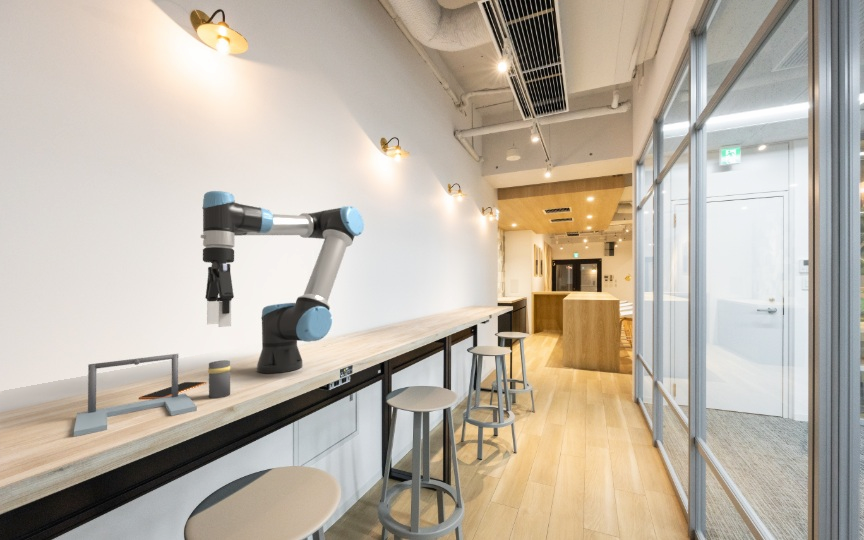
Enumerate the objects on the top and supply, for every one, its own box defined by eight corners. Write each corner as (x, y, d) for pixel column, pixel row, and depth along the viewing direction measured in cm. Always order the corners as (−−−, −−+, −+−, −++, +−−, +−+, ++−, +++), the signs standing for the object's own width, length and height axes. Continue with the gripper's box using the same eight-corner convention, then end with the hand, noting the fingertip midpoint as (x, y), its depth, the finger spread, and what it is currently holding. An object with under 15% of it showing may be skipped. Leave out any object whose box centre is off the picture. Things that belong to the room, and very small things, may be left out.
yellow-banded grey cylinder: (227, 391, 103) (227, 359, 103) (232, 395, 99) (232, 361, 100) (206, 396, 99) (206, 362, 100) (210, 399, 96) (210, 365, 96)
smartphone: (207, 384, 114) (207, 381, 114) (162, 400, 98) (162, 397, 98) (184, 384, 115) (184, 381, 115) (136, 400, 99) (136, 397, 99)
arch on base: (185, 397, 99) (185, 352, 100) (196, 410, 87) (196, 359, 88) (77, 417, 85) (77, 364, 86) (73, 436, 73) (74, 375, 74)
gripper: (194, 251, 108) (193, 324, 107) (213, 241, 89) (213, 329, 88) (222, 252, 113) (222, 322, 112) (246, 243, 94) (246, 326, 93)
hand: (218, 325), depth 100 cm, fingers open, 13 cm apart
